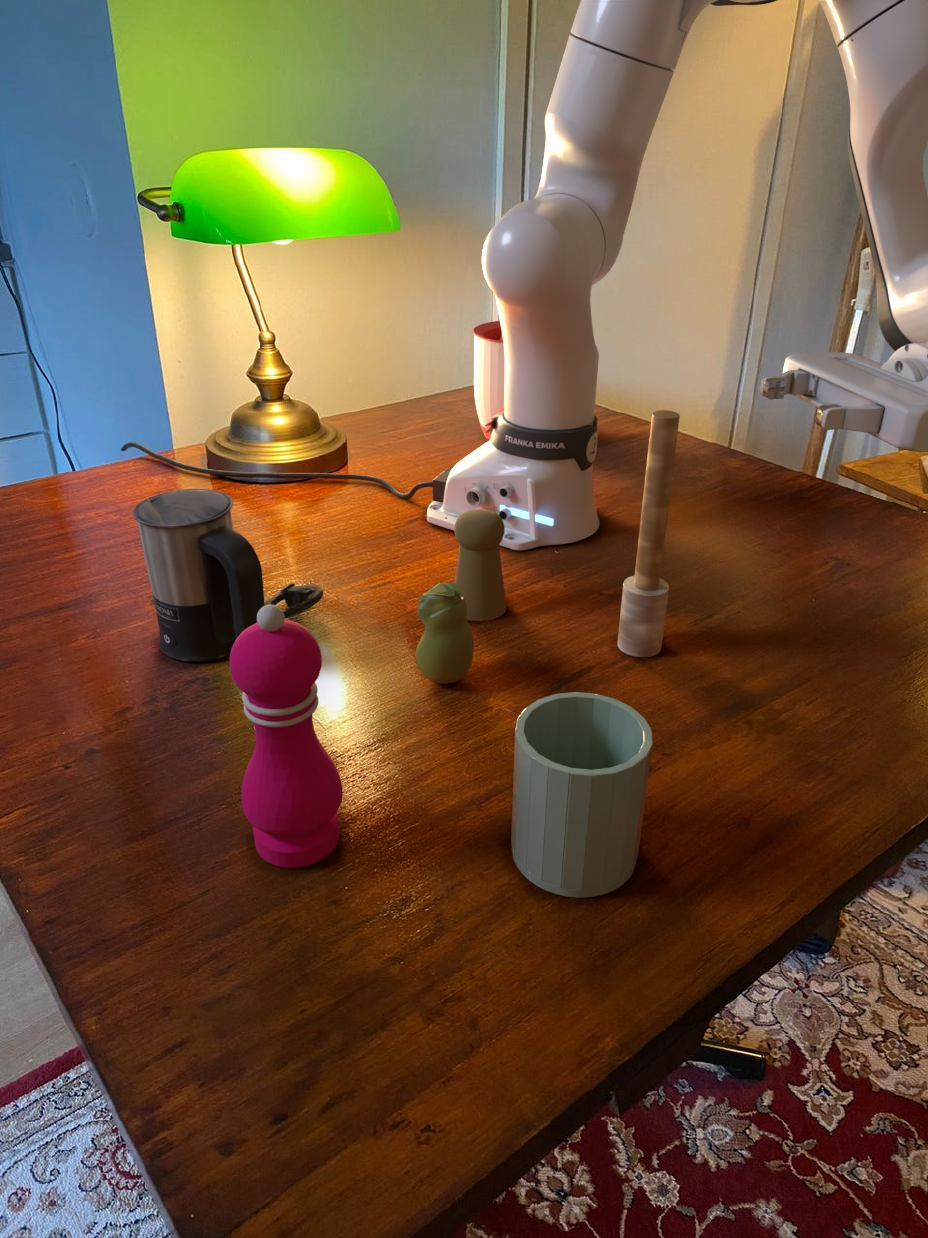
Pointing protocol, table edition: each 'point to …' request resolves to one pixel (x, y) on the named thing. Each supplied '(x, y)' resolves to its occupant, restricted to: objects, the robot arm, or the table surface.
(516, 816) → the faceted pen cup
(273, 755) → the pepper mill
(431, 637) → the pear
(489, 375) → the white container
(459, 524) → the brown peg figure
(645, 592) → the bottle brush
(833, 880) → the table surface
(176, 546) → the milk frother
